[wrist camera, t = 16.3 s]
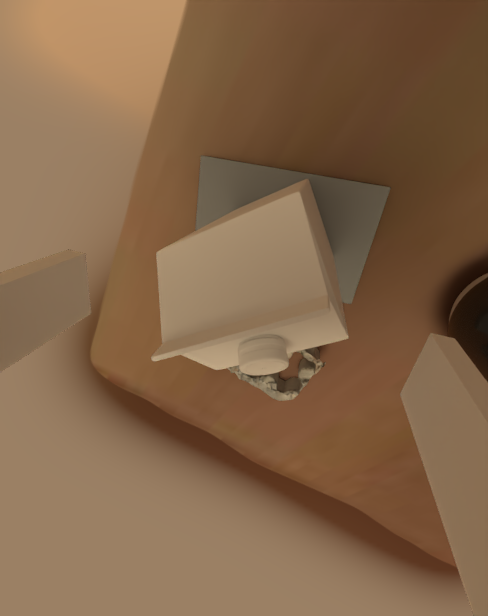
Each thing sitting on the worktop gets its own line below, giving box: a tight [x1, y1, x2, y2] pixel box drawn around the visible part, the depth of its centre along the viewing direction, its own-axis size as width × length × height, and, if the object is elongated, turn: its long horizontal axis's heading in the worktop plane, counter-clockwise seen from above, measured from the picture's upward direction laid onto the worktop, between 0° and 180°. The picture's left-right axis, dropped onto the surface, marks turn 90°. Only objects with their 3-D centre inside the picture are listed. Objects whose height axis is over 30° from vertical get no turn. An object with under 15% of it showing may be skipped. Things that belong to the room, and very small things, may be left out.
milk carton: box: [151, 179, 349, 376], centre depth 19 cm, size 7×7×19 cm
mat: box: [195, 156, 391, 304], centre depth 28 cm, size 16×10×1 cm, turn 81°
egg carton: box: [227, 347, 326, 401], centre depth 32 cm, size 11×8×4 cm
